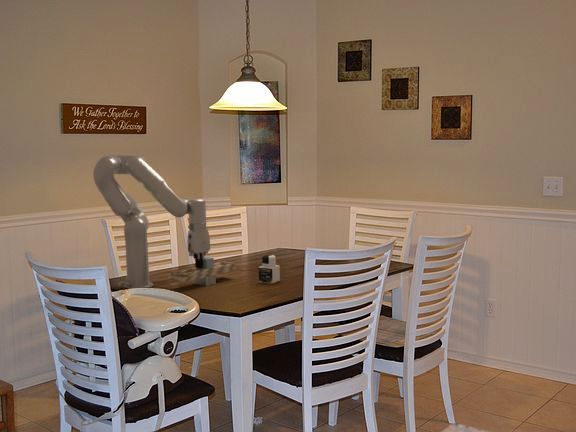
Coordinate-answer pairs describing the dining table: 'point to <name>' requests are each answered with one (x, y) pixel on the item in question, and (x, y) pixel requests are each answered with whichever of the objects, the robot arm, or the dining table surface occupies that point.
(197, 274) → the beam
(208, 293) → the dining table surface
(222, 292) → the dining table surface
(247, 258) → the dining table surface
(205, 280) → the fulcrum
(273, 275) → the medicine bottle
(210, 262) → the block
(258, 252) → the dining table surface
